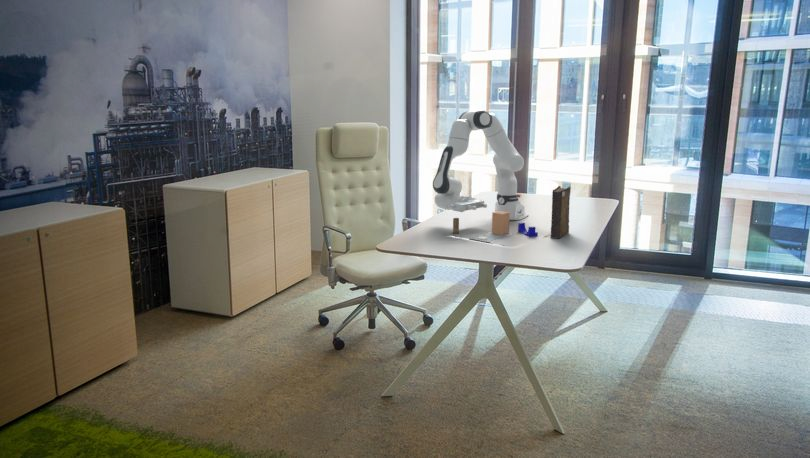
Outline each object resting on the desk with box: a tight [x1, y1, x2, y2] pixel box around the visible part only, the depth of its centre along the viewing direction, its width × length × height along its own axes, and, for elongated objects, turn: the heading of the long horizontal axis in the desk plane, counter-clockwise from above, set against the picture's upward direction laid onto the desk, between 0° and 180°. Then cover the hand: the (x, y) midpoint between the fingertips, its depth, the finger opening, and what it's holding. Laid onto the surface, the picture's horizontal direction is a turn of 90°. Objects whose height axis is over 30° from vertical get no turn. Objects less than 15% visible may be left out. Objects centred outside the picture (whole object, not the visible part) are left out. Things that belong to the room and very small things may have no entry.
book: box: [550, 185, 571, 239], centre depth 331 cm, size 17×7×25 cm, turn 146°
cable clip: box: [517, 221, 539, 238], centre depth 333 cm, size 12×4×6 cm, turn 20°
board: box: [469, 230, 513, 244], centre depth 329 cm, size 22×12×7 cm, turn 138°
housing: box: [491, 211, 511, 235], centre depth 334 cm, size 6×6×11 cm
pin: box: [452, 217, 460, 237], centre depth 334 cm, size 3×3×9 cm
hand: (481, 207), depth 340 cm, fingers open, 8 cm apart
